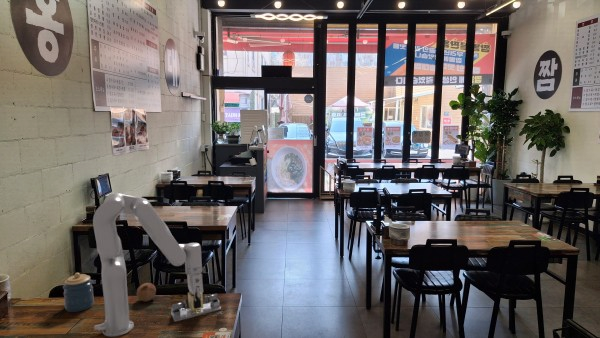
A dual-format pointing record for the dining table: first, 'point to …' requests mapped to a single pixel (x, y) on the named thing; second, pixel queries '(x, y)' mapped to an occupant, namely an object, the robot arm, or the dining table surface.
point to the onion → (146, 292)
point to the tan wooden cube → (191, 301)
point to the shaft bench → (188, 313)
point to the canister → (78, 293)
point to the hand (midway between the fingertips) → (195, 304)
